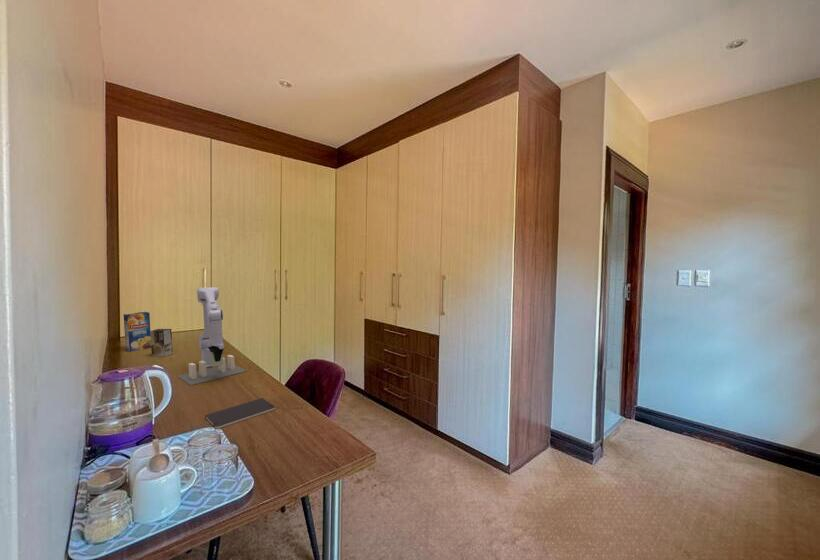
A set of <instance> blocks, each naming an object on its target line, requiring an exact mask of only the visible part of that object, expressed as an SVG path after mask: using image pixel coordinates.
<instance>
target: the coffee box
mask: <svg viewBox="0 0 820 560" xmlns="http://www.w3.org/2000/svg"><path fill="white" fill-rule="evenodd" d="M150 335H151V348H150V349H151V357H161V358H162V357H168V356H171V355H173V352H174V351H173V337H172V335H173V334H172V328H156V329H153V330H150Z"/></svg>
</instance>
